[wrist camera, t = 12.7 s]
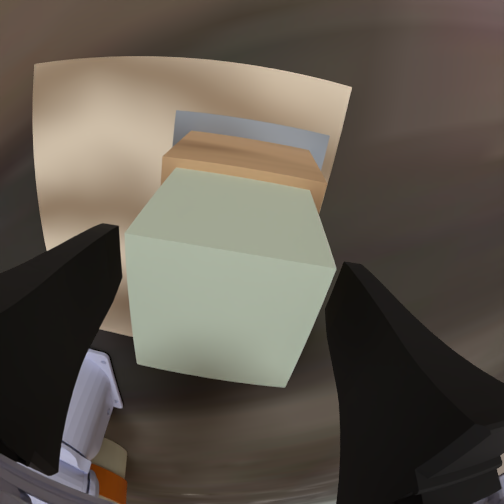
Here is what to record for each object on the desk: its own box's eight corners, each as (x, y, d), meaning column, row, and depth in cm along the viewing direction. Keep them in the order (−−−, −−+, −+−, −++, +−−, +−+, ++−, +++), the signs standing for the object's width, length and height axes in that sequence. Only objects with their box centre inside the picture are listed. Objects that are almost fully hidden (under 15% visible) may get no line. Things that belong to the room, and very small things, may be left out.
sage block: (280, 293, 12) (284, 387, 9) (169, 275, 12) (137, 363, 8) (309, 190, 10) (336, 268, 6) (176, 167, 10) (124, 233, 6)
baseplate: (271, 349, 23) (271, 361, 22) (69, 310, 22) (63, 320, 21) (346, 86, 13) (352, 87, 12) (45, 63, 12) (33, 64, 11)
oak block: (284, 249, 17) (289, 307, 13) (182, 232, 16) (158, 286, 12) (308, 150, 14) (327, 183, 10) (191, 130, 13) (162, 156, 10)
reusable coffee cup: (49, 418, 35) (21, 497, 22) (114, 431, 34) (89, 527, 21) (90, 453, 42) (72, 522, 29) (151, 464, 40) (136, 543, 28)
